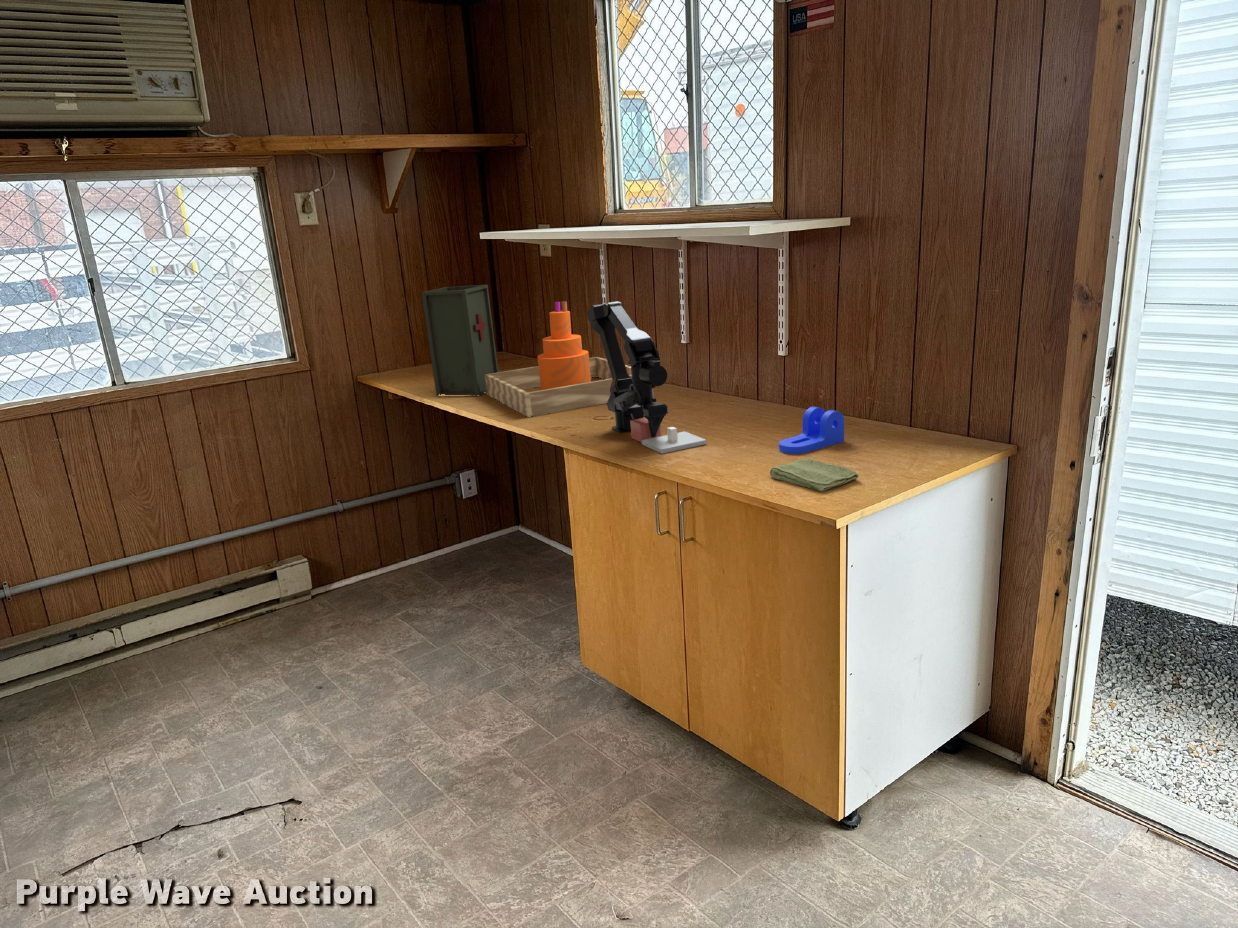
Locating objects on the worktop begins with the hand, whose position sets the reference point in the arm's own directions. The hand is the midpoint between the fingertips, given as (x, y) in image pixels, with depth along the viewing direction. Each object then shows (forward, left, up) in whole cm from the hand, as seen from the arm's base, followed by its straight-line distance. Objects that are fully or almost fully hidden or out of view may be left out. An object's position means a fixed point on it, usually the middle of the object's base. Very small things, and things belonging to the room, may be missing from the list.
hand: (646, 434), depth 242 cm
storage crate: (-74, +5, -1) cm, 74 cm away
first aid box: (-111, -22, -2) cm, 113 cm away
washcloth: (+59, +14, -2) cm, 61 cm away
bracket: (+36, +30, -2) cm, 47 cm away
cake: (-74, +5, -2) cm, 74 cm away
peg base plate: (+11, +3, -1) cm, 11 cm away
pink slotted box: (0, 0, -1) cm, 1 cm away
